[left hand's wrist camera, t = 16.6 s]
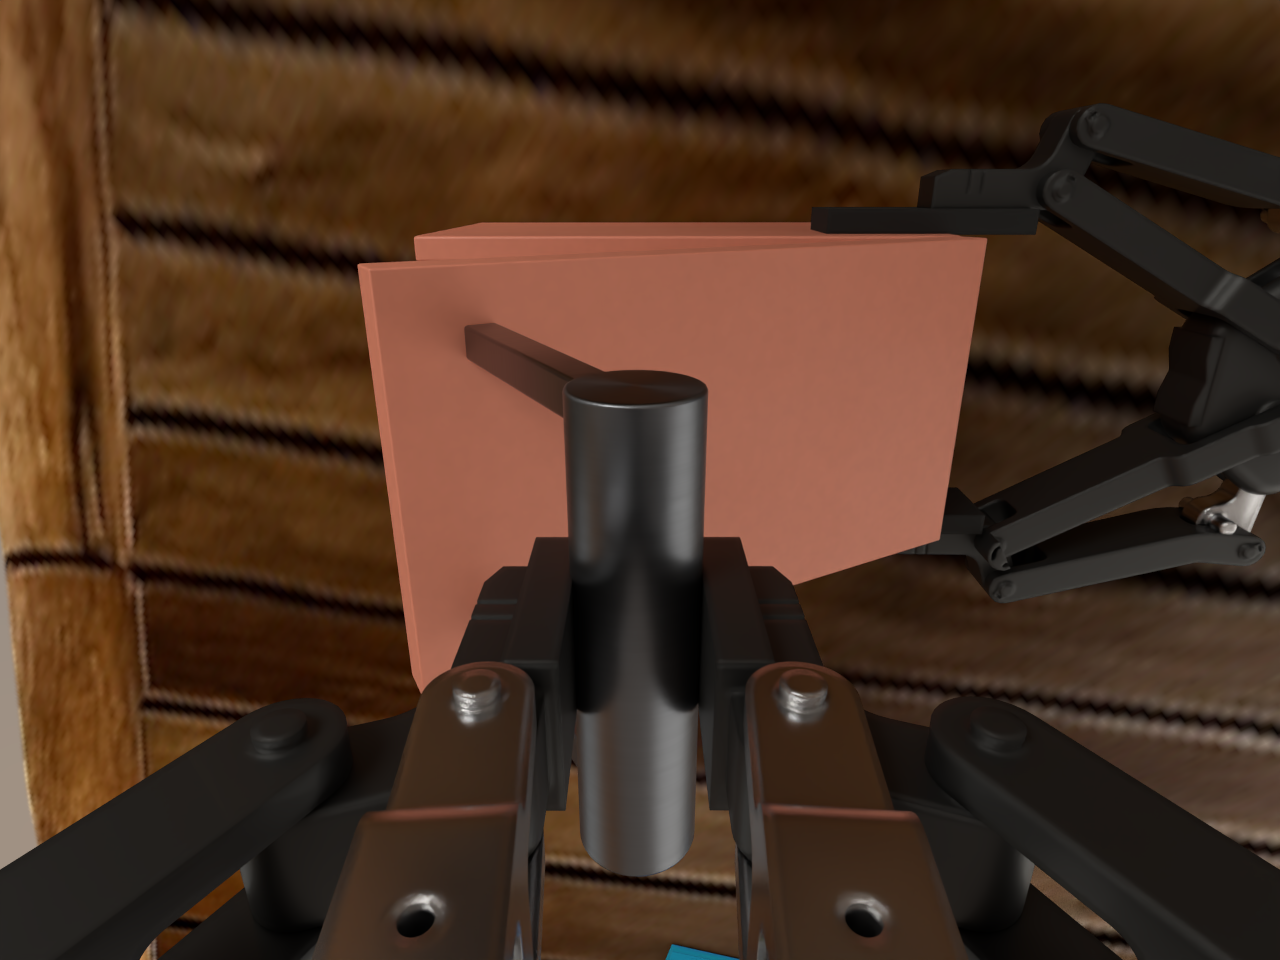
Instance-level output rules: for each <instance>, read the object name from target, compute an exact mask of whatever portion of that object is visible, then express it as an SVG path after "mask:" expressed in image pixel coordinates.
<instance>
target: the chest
mask: <svg viewBox="0 0 1280 960" xmlns="http://www.w3.org/2000/svg"><path fill="white" fill-rule="evenodd" d="M810 228H811V222H628V223H478V224H473V225H468V226H463V227H458V228H453V229H448V230H443V231H438V232H433V233H428V234H423V235H419V236H415V237H414V244H415V253H416V260H417V261H429V260H450V259H472V258H493V257H515V256H537V255H558V254H580V253H602V252H623V251H645V250H666V249H688V248H710V247H731V246H753V245H775V244H796V243H818V242H839V241H861V240H883V239H904V238H926V237H948V236H959V235H953V234H825V233H821V232H818V231H814V230H811V229H810Z"/></svg>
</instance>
